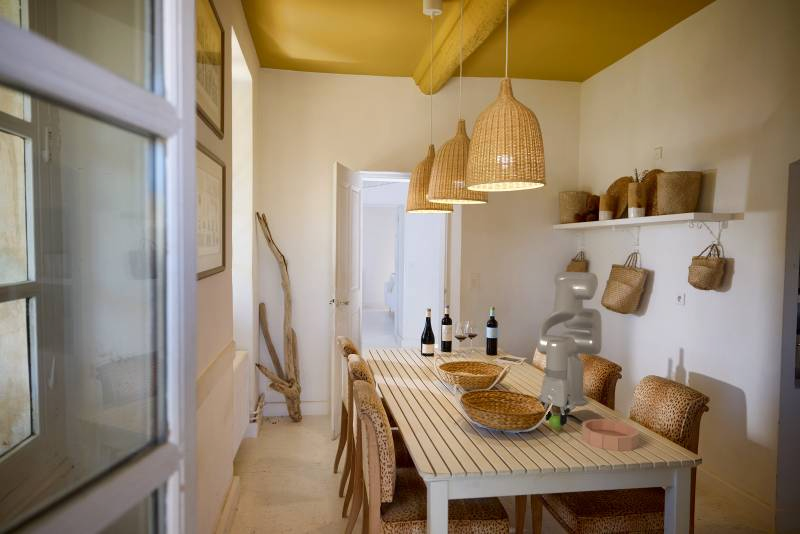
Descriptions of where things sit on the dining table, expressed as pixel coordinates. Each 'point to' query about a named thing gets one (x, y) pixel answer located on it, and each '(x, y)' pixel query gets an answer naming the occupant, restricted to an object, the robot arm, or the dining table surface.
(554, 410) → the snail figurine
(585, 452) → the dining table surface
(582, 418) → the clay tablet
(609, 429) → the terracotta bowl
